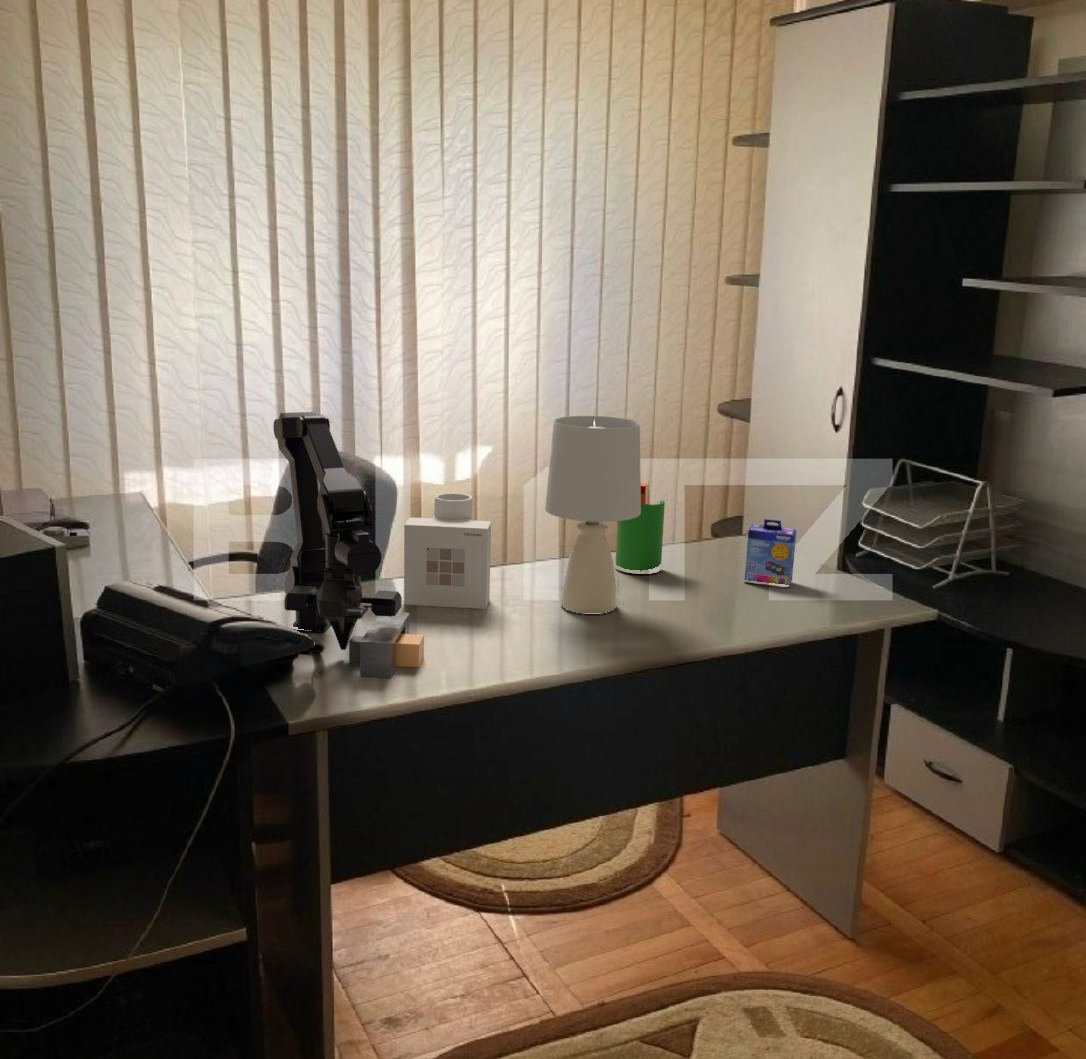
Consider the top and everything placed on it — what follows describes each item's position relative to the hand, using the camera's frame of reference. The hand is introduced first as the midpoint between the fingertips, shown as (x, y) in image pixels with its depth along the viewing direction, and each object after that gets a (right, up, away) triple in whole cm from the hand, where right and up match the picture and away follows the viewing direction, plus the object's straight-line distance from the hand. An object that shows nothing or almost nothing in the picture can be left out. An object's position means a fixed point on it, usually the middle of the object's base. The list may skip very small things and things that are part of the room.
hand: (343, 649), depth 191 cm
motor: (+55, +11, +60) cm, 82 cm away
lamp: (+43, +5, +33) cm, 54 cm away
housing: (+7, -2, 0) cm, 7 cm away
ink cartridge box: (+82, +8, +53) cm, 99 cm away
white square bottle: (+15, +7, +38) cm, 42 cm away
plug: (+7, -2, 0) cm, 7 cm away
